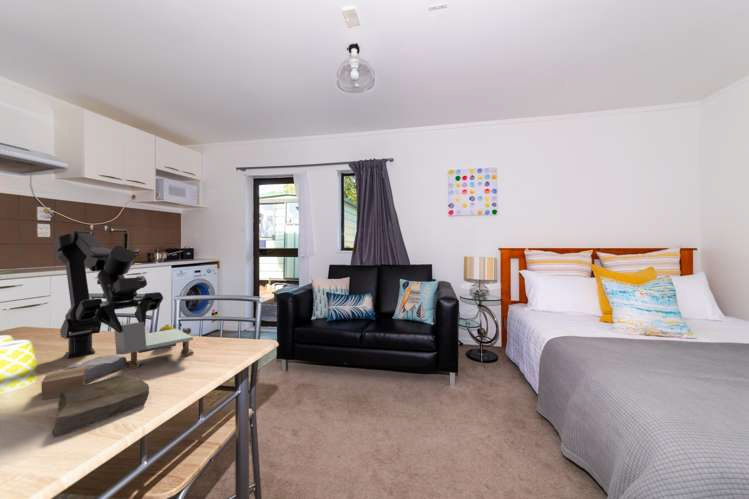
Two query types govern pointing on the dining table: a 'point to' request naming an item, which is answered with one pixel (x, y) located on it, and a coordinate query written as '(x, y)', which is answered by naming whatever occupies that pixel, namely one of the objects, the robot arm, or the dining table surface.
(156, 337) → the trapdoor
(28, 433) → the dining table surface
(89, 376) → the stone block
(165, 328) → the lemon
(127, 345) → the grey block
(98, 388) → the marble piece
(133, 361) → the trapdoor frame
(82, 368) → the plinth
